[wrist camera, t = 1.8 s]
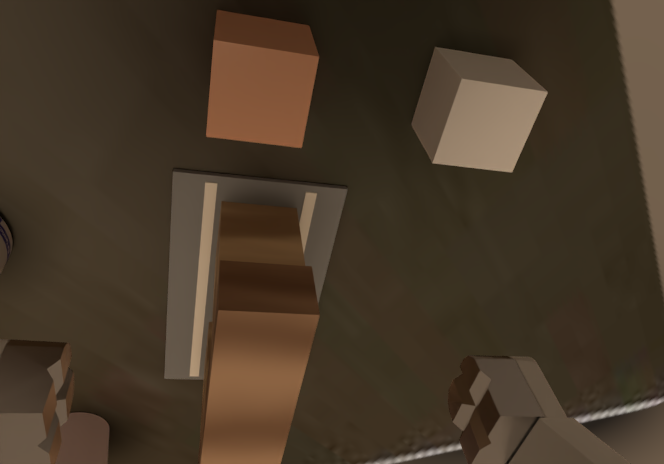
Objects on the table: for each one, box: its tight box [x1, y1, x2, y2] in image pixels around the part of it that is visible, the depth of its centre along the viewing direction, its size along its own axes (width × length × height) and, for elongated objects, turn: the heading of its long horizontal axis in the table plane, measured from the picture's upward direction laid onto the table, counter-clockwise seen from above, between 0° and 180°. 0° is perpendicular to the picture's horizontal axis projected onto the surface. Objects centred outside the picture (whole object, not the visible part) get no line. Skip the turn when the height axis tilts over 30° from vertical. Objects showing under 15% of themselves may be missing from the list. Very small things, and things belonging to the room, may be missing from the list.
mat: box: [164, 169, 348, 380], centre depth 33 cm, size 16×9×1 cm, turn 169°
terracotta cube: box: [206, 10, 319, 148], centre depth 24 cm, size 4×4×4 cm
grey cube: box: [411, 47, 548, 172], centre depth 26 cm, size 4×4×4 cm
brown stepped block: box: [198, 201, 320, 464], centre depth 30 cm, size 15×4×9 cm, turn 169°
